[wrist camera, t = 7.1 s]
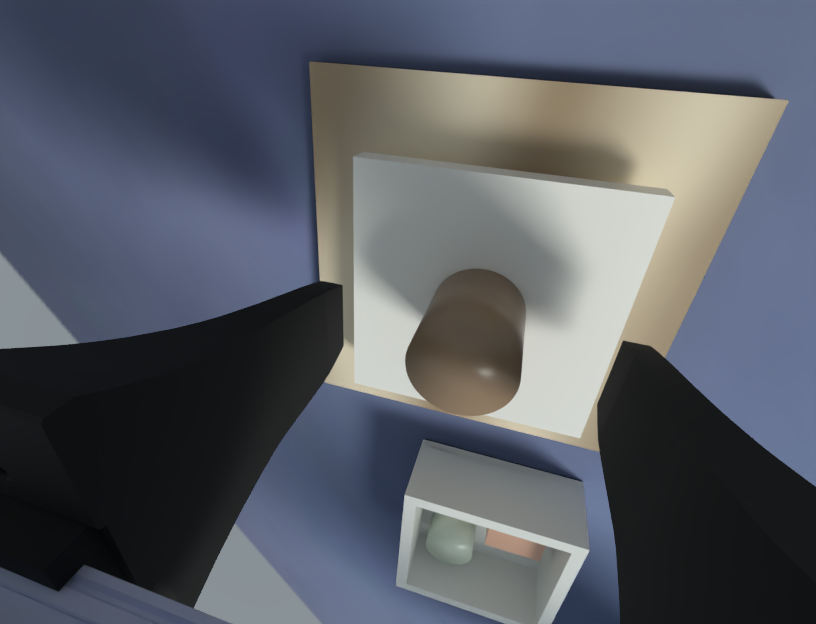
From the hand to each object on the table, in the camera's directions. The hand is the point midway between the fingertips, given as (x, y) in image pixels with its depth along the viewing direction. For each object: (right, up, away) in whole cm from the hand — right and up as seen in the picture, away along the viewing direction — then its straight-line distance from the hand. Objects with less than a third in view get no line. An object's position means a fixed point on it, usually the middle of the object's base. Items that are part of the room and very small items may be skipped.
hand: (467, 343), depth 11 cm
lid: (+1, +1, +2) cm, 3 cm away
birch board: (+1, +2, +3) cm, 4 cm away
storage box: (+2, -9, +9) cm, 13 cm away
